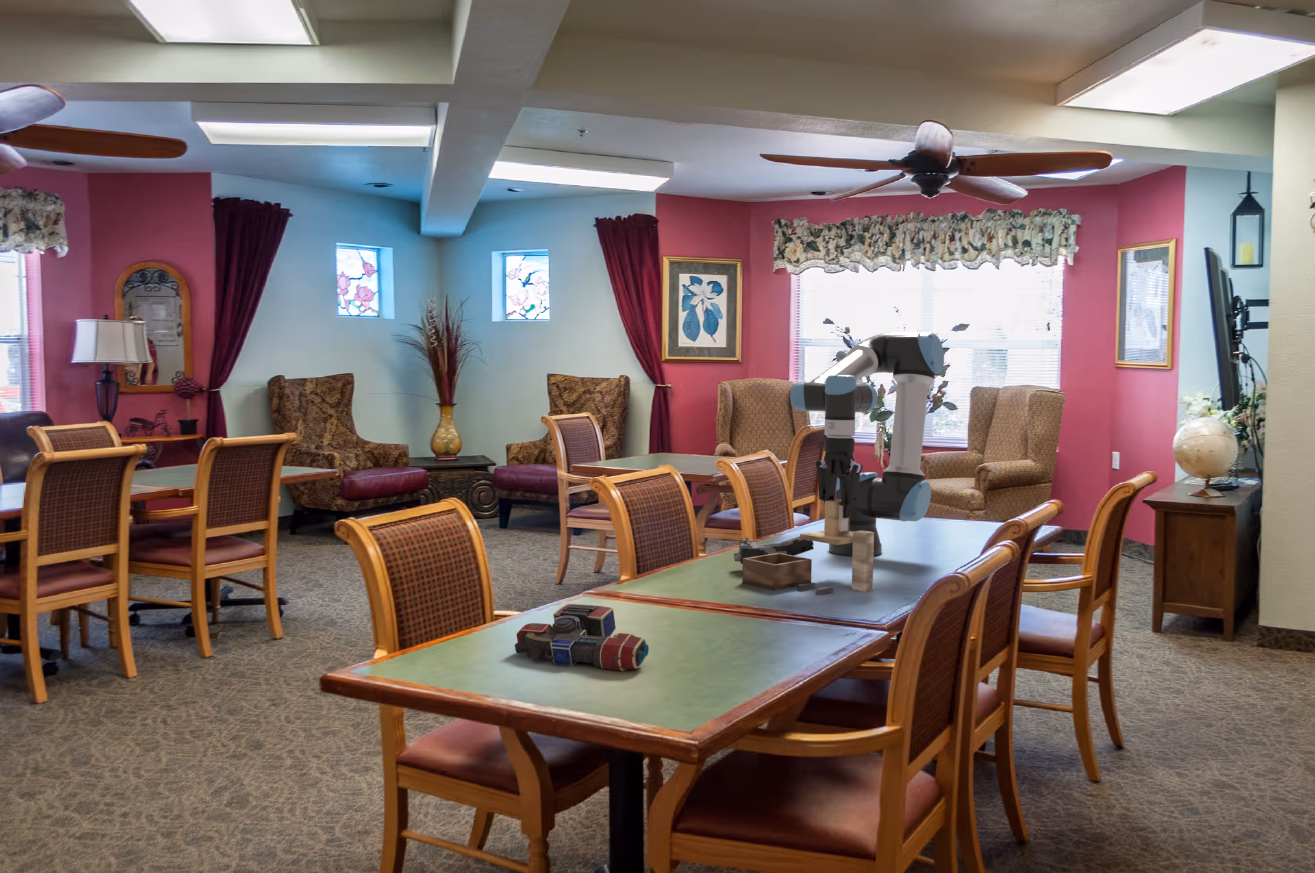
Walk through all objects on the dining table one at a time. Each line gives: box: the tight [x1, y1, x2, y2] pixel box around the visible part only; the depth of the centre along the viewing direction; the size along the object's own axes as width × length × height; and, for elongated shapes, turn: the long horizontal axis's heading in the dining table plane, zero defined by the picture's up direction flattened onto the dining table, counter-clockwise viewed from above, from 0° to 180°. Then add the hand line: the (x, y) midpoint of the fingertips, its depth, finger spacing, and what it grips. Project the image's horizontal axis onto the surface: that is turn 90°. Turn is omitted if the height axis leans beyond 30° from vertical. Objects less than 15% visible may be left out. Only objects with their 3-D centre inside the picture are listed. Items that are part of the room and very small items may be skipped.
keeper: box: [791, 581, 834, 596], centre depth 237 cm, size 5×10×1 cm, turn 40°
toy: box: [733, 535, 815, 565], centre depth 259 cm, size 7×21×10 cm, turn 89°
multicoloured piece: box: [514, 603, 650, 672], centre depth 181 cm, size 8×25×20 cm
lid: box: [799, 499, 853, 545], centre depth 249 cm, size 14×12×10 cm
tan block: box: [851, 530, 874, 593], centre depth 237 cm, size 4×4×14 cm
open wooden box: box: [741, 553, 813, 591], centre depth 244 cm, size 13×11×6 cm
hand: (837, 529), depth 249 cm, fingers closed on lid, 3 cm apart
